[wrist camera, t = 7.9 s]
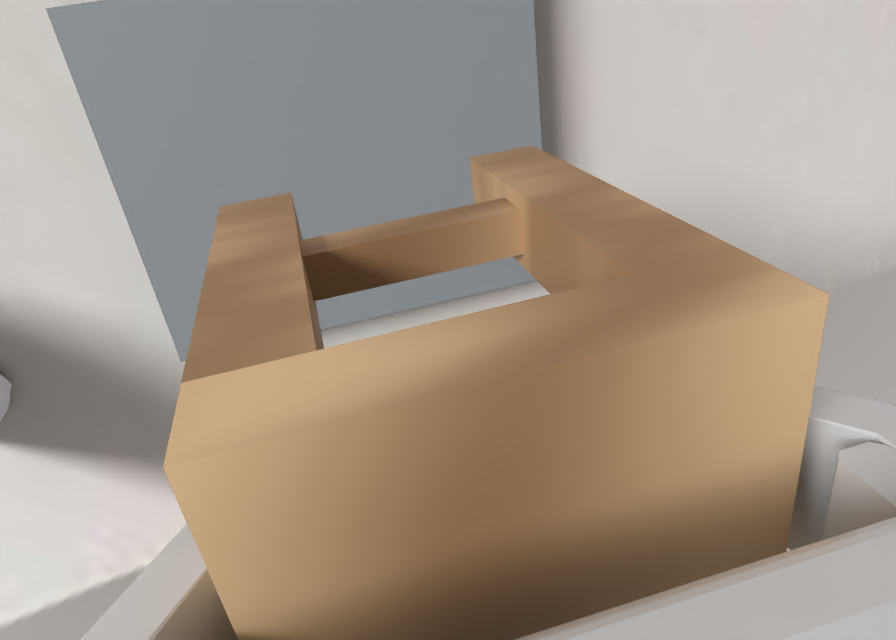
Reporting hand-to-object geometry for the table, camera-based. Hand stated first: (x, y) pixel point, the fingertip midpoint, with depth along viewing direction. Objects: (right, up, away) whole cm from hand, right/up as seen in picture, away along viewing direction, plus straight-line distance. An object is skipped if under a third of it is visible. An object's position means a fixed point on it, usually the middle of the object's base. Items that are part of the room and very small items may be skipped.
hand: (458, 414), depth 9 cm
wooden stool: (-1, +2, +3) cm, 4 cm away
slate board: (-5, +8, +17) cm, 19 cm away
